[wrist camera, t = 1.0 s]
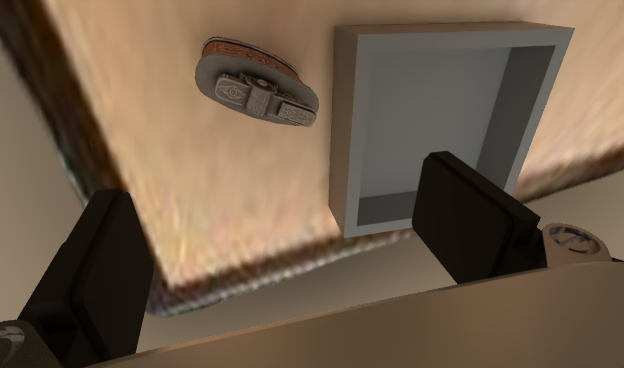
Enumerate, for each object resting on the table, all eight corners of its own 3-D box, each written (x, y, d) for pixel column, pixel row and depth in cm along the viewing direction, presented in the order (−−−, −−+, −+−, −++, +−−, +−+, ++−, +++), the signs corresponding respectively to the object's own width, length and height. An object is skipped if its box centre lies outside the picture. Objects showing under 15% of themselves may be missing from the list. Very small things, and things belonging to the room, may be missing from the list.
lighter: (196, 69, 26) (184, 110, 18) (207, 26, 25) (200, 48, 17) (289, 102, 29) (315, 150, 21) (303, 65, 28) (338, 100, 20)
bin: (521, 21, 31) (574, 28, 26) (472, 186, 40) (504, 213, 35) (334, 25, 27) (358, 34, 22) (328, 205, 36) (343, 238, 32)
